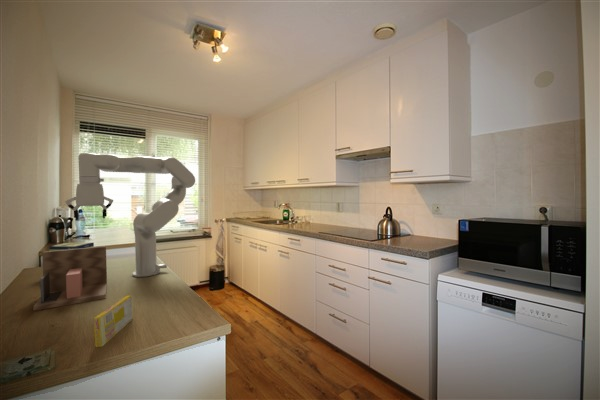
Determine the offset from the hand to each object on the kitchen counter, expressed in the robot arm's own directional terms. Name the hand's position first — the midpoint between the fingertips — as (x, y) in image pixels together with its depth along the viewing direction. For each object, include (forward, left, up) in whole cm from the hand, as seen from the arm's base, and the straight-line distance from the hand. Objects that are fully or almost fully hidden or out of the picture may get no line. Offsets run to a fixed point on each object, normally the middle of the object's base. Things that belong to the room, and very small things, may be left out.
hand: (90, 218), depth 125 cm
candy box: (-9, +58, -31) cm, 66 cm away
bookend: (+12, +15, -29) cm, 34 cm away
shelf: (+5, +14, -30) cm, 34 cm away
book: (+5, +15, -29) cm, 33 cm away
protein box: (+10, -29, -31) cm, 43 cm away
